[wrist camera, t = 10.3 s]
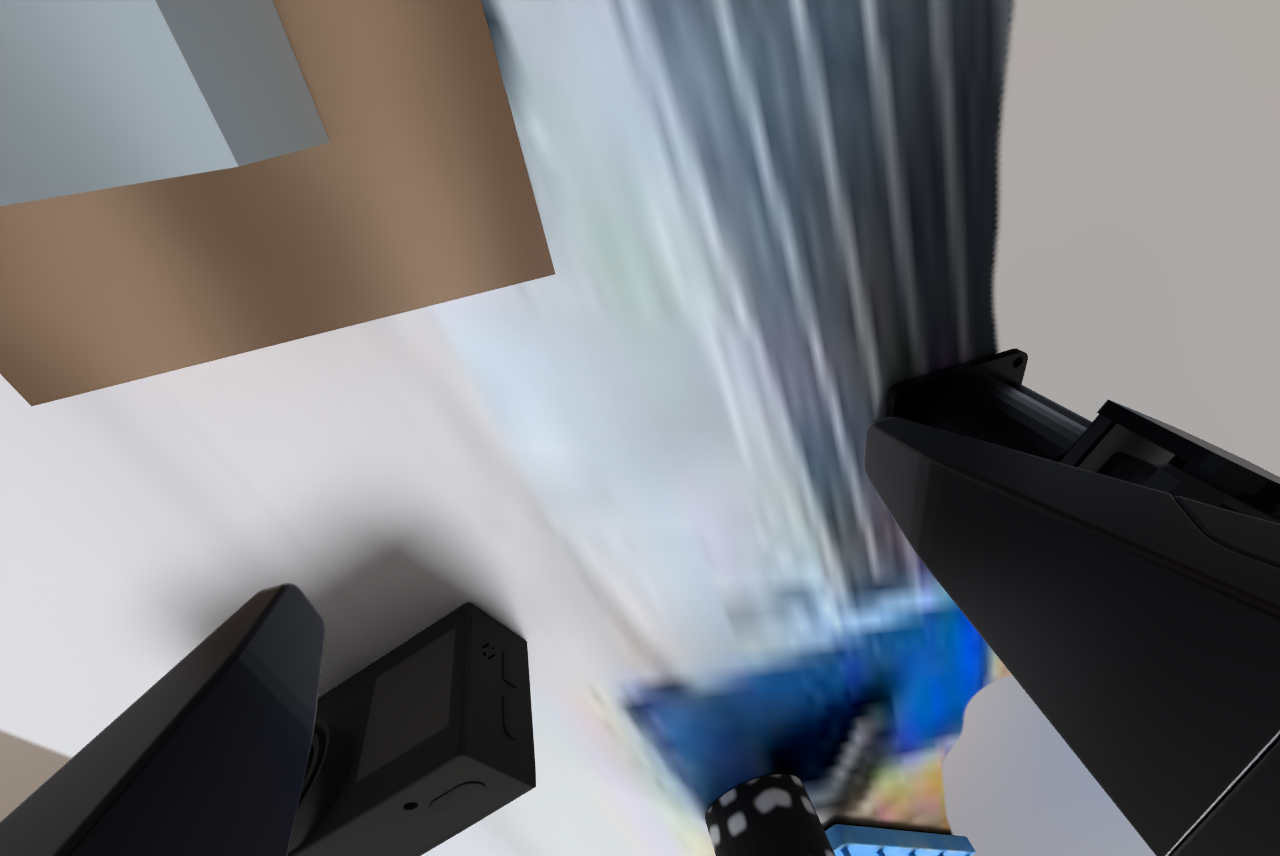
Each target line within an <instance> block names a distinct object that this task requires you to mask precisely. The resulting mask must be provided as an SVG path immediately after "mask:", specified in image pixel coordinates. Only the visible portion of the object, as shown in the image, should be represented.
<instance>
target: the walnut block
mask: <svg viewBox="0 0 1280 856" xmlns="http://www.w3.org/2000/svg"><path fill="white" fill-rule="evenodd" d="M272 1H273V3H274V6H275V8H276V11H277V13H278V15H279V18H280V20H281V23H282V25H283V28H284V30H285V33H286V35H287V38H288V40H289V43H290V45H291V48H292V50H293V52H294V55H295V57H296V60H297V62H298V65H299V67H300V70H301V72H302V75H303V77H304V80H305V82H306V84H307V87H308V89H309V92H310V94H311V97H312V99H313V102H314V104H315V107H316V109H317V112H318V114H319V116H320V119H321V121H322V124H323V126H324V129H325V131H326V134H327V136H328V139H329V141H330V143H326V144H323V145H319V146H315V147H311V148H307V149H304V150H300V151H296V152H292V153H288V154H285V155H281V156H277V157H273V158H270V159H266V160H262V161H258V162H254V163H251V164H247V165H243V166H239V167H233V168H227V169H221V170H215V171H209V172H203V173H197V174H191V175H185V176H179V177H173V178H167V179H161V180H155V181H149V182H143V183H137V184H131V185H125V186H119V187H113V188H107V189H101V190H95V191H89V192H83V193H77V194H71V195H65V196H59V197H53V198H47V199H41V200H35V201H29V202H23V203H17V204H11V205H5V206H0V374H1V375H2V376H3V377H4V378H5V379H6V380H7V381H8V382H9V383H10V384H11V385H12V386H13V387H14V388H15V389H16V390H17V392H18V393H19V394H20V395H21V396H22V397H23V398H24V399H25V400H26V401H27V402H28V403H29V404H30V405H31V406H34V405H38V404H42V403H46V402H50V401H54V400H58V399H62V398H66V397H70V396H74V395H78V394H82V393H86V392H90V391H94V390H98V389H102V388H106V387H110V386H114V385H118V384H121V383H125V382H129V381H133V380H137V379H141V378H145V377H149V376H153V375H157V374H161V373H165V372H169V371H173V370H177V369H181V368H185V367H189V366H193V365H197V364H201V363H205V362H209V361H213V360H217V359H221V358H225V357H229V356H232V355H236V354H240V353H244V352H248V351H252V350H256V349H260V348H264V347H268V346H272V345H276V344H280V343H284V342H288V341H292V340H296V339H300V338H304V337H308V336H312V335H316V334H320V333H324V332H328V331H332V330H336V329H339V328H343V327H347V326H351V325H355V324H359V323H363V322H367V321H371V320H375V319H379V318H383V317H387V316H391V315H395V314H399V313H403V312H407V311H411V310H415V309H419V308H423V307H427V306H431V305H435V304H439V303H443V302H446V301H450V300H454V299H458V298H462V297H466V296H470V295H474V294H478V293H482V292H486V291H490V290H494V289H498V288H502V287H506V286H510V285H514V284H518V283H522V282H526V281H530V280H534V279H538V278H542V277H546V276H550V275H553V274H555V271H554V267H553V264H552V260H551V256H550V253H549V249H548V245H547V242H546V238H545V234H544V231H543V227H542V223H541V220H540V216H539V212H538V209H537V205H536V201H535V197H534V194H533V190H532V186H531V183H530V179H529V175H528V172H527V168H526V164H525V161H524V157H523V153H522V150H521V146H520V142H519V139H518V135H517V131H516V128H515V124H514V120H513V117H512V113H511V109H510V106H509V102H508V98H507V95H506V91H505V87H504V84H503V80H502V76H501V72H500V69H499V65H498V61H497V58H496V54H495V50H494V47H493V43H492V39H491V36H490V32H489V28H488V25H487V21H486V17H485V14H484V10H483V6H482V3H481V0H272Z"/></svg>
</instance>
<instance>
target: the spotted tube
mask: <svg viewBox="0 0 1280 856" xmlns="http://www.w3.org/2000/svg"><path fill="white" fill-rule="evenodd" d="M706 824H707V827H708V831H709V834H710V837H711V841H712V844H713V848H714V851H715V854H716V856H836V855H835V853H834V851H833V849H832V847H831V844H830V842H829V840H828V838H827V836H826V833H825V831H824V829H823V827H822V825H821V823H820V820H819V818H818V816H817V814H816V812H815V809H814V807H813V805H812V803H811V801H810V798H809V796H808V794H807V792H806V790H805V787H804V785H803V783H802V781H801V780H800V779H799V778H797V777H796V776H793V775H787V774H777V775H769V776H764V777H760V778H757V779H754V780H751V781H748V782H746V783H743V784H741V785H739V786H737V787H735V788H733V789H732V790H730V791H729V792H727V793H725V794H724V795H723V796H721V797H720V798H719V799H718V800H717V801H716V802H715V803H714V804H713V805H712V806H711V807H710V809H709V810H708V812H707V814H706Z"/></svg>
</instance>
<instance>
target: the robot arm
mask: <svg viewBox="0 0 1280 856" xmlns="http://www.w3.org/2000/svg"><path fill="white" fill-rule="evenodd" d="M1027 360H1028V356H1027V354H1026V353H1025V352H1022V351H1020V350H1018V349H1011V350H1007V351H1004V352H1001V353H997V354H994V355H991V356H987V357H984V358H981V359H977V360H974V361H971V362H967V363H964V364H961V365H957V366H954V367H951V368H947V369H944V370H941V371H937V372H934V373H931V374H927V375H924V376H921V377H917V378H914V379H911V380H907V381H904V382H900V383H898V384H896V385H895V386H894V387H893V388H892V389H891V391H890V393H889V400H888V412H887V418H885V419H882V420H878V421H874V422H872V423H870V424H869V425H868V427H867V430H866V442H865V457H864V467H865V472H866V474H867V477H868V479H869V480H870V482H871V484H872V485H873V487H874V488H875V490H876V491H877V493H878V495H879V496H880V498H881V499H882V501H883V503H884V504H885V506H886V507H887V509H888V510H889V512H890V514H891V515H892V517H893V518H894V520H895V521H896V523H897V525H898V526H899V528H900V529H901V531H902V533H903V534H904V536H905V537H906V539H907V540H908V542H909V543H910V545H911V546H912V548H913V549H914V551H915V552H916V554H917V555H918V556H919V558H920V559H921V560H922V562H923V563H924V564H925V566H926V567H927V568H928V570H929V571H930V572H931V573H932V575H933V576H934V577H935V578H936V580H937V581H938V582H939V583H940V585H941V586H942V587H943V588H944V590H945V591H946V592H947V593H948V595H949V596H950V597H951V598H952V600H953V601H954V602H955V603H956V605H957V606H958V607H959V608H960V610H961V611H962V612H963V613H964V615H965V616H966V617H967V618H968V620H969V621H970V622H971V624H972V625H973V626H974V627H975V629H976V630H977V631H978V632H979V634H980V635H981V636H982V637H983V639H984V640H985V641H986V642H987V644H988V645H989V646H990V647H991V649H992V650H993V651H994V652H995V654H996V655H997V656H998V657H999V659H1000V660H1001V661H1002V662H1003V664H1004V665H1005V666H1006V667H1007V669H1008V670H1009V671H1010V673H1011V674H1012V675H1013V676H1014V677H1015V679H1016V680H1017V681H1018V683H1019V684H1020V685H1021V686H1022V688H1023V689H1024V690H1025V691H1026V693H1027V694H1028V695H1029V696H1030V698H1031V699H1032V700H1033V701H1034V702H1035V704H1036V705H1037V706H1038V708H1039V709H1040V710H1041V711H1042V713H1043V714H1044V715H1045V716H1046V718H1047V719H1048V720H1049V721H1050V723H1051V724H1052V725H1053V726H1054V728H1055V729H1056V730H1057V732H1058V733H1059V734H1060V735H1061V737H1062V738H1063V739H1064V740H1065V742H1066V743H1067V744H1068V745H1069V747H1070V748H1071V749H1072V750H1073V752H1074V753H1075V754H1076V755H1077V757H1078V758H1079V759H1080V760H1081V762H1082V763H1083V764H1084V765H1085V767H1086V768H1087V769H1088V770H1089V772H1090V773H1091V774H1092V776H1093V777H1094V778H1095V779H1096V781H1097V782H1098V783H1099V784H1100V786H1101V787H1102V788H1103V789H1104V791H1105V792H1106V793H1107V794H1108V796H1109V797H1110V798H1111V799H1112V801H1113V802H1114V803H1115V804H1116V806H1117V807H1118V808H1119V809H1120V811H1121V812H1122V813H1123V814H1124V816H1125V817H1126V818H1127V819H1128V821H1129V822H1130V823H1131V824H1132V826H1133V827H1134V828H1135V829H1136V830H1137V832H1138V833H1139V834H1140V836H1141V837H1142V838H1143V840H1144V841H1145V842H1146V843H1147V845H1148V846H1149V847H1150V848H1151V850H1152V851H1153V852H1154V853H1155V855H1156V856H1280V477H1278V476H1276V475H1274V474H1272V473H1270V472H1268V471H1266V470H1264V469H1263V468H1261V467H1259V466H1257V465H1255V464H1252V463H1251V462H1249V461H1247V460H1245V459H1243V458H1240V457H1238V456H1236V455H1234V454H1232V453H1229V452H1227V451H1225V450H1223V449H1221V448H1219V447H1217V446H1215V445H1212V444H1210V443H1208V442H1206V441H1204V440H1201V439H1200V438H1197V437H1195V436H1193V435H1191V434H1189V433H1187V432H1184V431H1182V430H1180V429H1178V428H1176V427H1173V426H1171V425H1168V424H1166V423H1163V422H1161V421H1159V420H1156V419H1154V418H1152V417H1149V416H1147V415H1144V414H1142V413H1139V412H1137V411H1134V410H1132V409H1130V408H1127V407H1125V406H1122V405H1120V404H1118V403H1115V402H1113V401H1110V400H1107V401H1106V403H1105V404H1104V405H1103V406H1102V407H1101V408H1100V409H1099V411H1098V412H1097V413H1099V415H1098V416H1097V418H1096V419H1095V420H1094V421H1093V422H1091V421H1089V420H1087V419H1085V418H1083V417H1081V416H1079V415H1078V414H1076V413H1074V412H1072V411H1070V410H1068V409H1066V408H1064V407H1063V406H1060V405H1059V404H1057V403H1055V402H1053V401H1051V400H1049V399H1047V398H1046V397H1044V396H1042V395H1040V394H1038V393H1036V392H1034V391H1032V390H1031V389H1029V388H1027V387H1025V386H1023V385H1021V384H1022V380H1023V376H1024V372H1025V368H1026V364H1027ZM902 393H904V394H903V395H902V396H901V394H902ZM324 639H325V625H324V622H323V619H322V617H321V615H320V614H319V613H318V612H317V610H316V609H315V608H314V606H313V605H312V604H311V603H310V601H309V600H308V599H307V598H306V596H305V595H304V594H303V592H302V591H301V590H300V589H299V588H298V587H297V586H296V585H294V584H292V583H285V584H281V585H278V586H274V587H271V588H267V589H264V590H261V591H260V592H258V593H257V594H255V595H254V596H253V597H252V598H251V599H250V600H249V601H248V602H246V603H245V604H244V605H243V606H242V607H241V608H240V609H239V610H237V611H236V612H235V613H234V614H233V615H232V616H231V617H230V618H228V619H227V620H226V621H225V622H224V623H223V624H222V625H221V626H220V627H218V628H217V629H216V630H215V631H214V632H213V633H212V634H211V635H209V636H208V637H207V638H206V639H205V640H204V641H203V642H202V643H200V644H199V645H198V646H197V647H196V648H195V649H194V650H193V651H192V652H190V653H189V654H188V655H187V656H186V657H185V658H184V659H183V660H181V661H180V662H179V663H178V664H177V665H176V666H175V667H174V668H172V669H171V670H170V671H169V672H168V673H167V674H166V675H165V676H164V677H162V678H161V679H160V680H159V681H158V682H157V683H156V684H155V685H153V686H152V687H151V688H150V689H149V690H148V691H147V692H146V693H144V694H143V695H142V696H141V697H140V698H139V699H138V700H137V701H136V702H134V703H133V704H132V705H131V706H130V707H129V708H128V709H127V710H125V711H124V712H123V713H122V714H121V715H120V716H119V717H118V718H116V719H115V720H114V721H113V722H112V723H111V724H110V725H109V726H108V727H106V728H105V729H104V730H103V731H102V732H101V733H100V734H99V735H97V736H96V737H95V738H94V739H93V740H92V741H91V742H90V743H88V744H87V745H86V746H85V747H84V748H83V749H82V750H81V751H80V752H78V753H77V754H76V755H75V756H74V757H73V758H72V759H71V760H69V761H68V762H67V763H66V764H65V765H64V766H63V767H62V768H61V769H59V770H58V771H57V772H56V773H55V774H54V775H53V776H52V777H50V778H49V779H48V780H47V781H46V782H45V783H44V784H43V785H41V786H40V787H39V788H38V789H37V790H36V791H35V792H34V793H32V794H31V795H30V796H29V797H28V798H27V799H26V800H25V801H24V802H22V803H21V804H20V805H19V806H18V807H17V808H16V809H15V810H13V811H12V812H11V813H10V814H9V815H8V816H7V817H6V818H4V819H3V820H2V821H1V822H0V856H287V852H288V848H289V843H290V839H291V834H292V830H293V825H294V821H295V816H296V812H297V807H298V803H299V798H300V794H301V789H302V785H303V780H304V776H305V771H306V767H307V762H308V758H309V753H310V748H311V743H312V738H313V732H314V725H315V719H316V710H317V701H318V692H319V683H320V675H321V666H322V657H323V648H324Z"/></svg>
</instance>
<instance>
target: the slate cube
mask: <svg viewBox="0 0 1280 856" xmlns="http://www.w3.org/2000/svg"><path fill="white" fill-rule="evenodd" d="M326 143H330V141H329V139H328V136H327V134H326V131H325V129H324V126H323V124H322V121H321V119H320V116H319V114H318V112H317V109H316V107H315V104H314V102H313V99H312V97H311V94H310V92H309V89H308V87H307V84H306V82H305V80H304V77H303V75H302V72H301V70H300V67H299V65H298V62H297V60H296V57H295V55H294V52H293V50H292V48H291V45H290V43H289V40H288V38H287V35H286V33H285V30H284V28H283V25H282V23H281V20H280V18H279V15H278V13H277V11H276V8H275V6H274V3H273V1H272V0H0V206H5V205H11V204H17V203H23V202H29V201H35V200H41V199H47V198H53V197H59V196H65V195H71V194H77V193H83V192H89V191H95V190H101V189H107V188H113V187H119V186H125V185H131V184H137V183H143V182H149V181H155V180H161V179H167V178H173V177H179V176H185V175H191V174H197V173H203V172H209V171H215V170H221V169H227V168H233V167H239V166H243V165H247V164H251V163H254V162H258V161H262V160H266V159H270V158H273V157H277V156H281V155H285V154H288V153H292V152H296V151H300V150H304V149H307V148H311V147H315V146H319V145H323V144H326Z"/></svg>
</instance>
